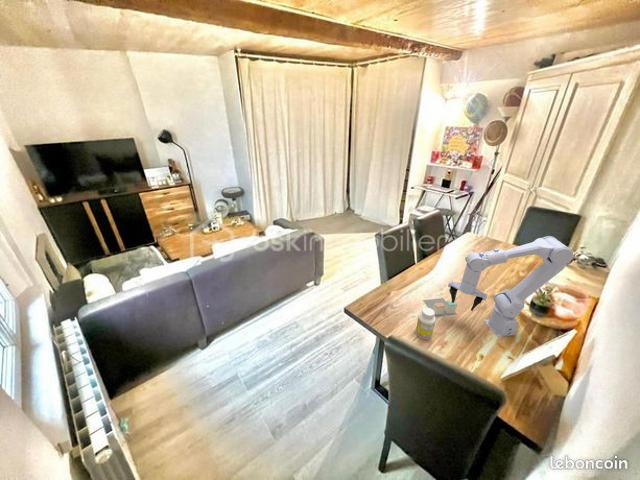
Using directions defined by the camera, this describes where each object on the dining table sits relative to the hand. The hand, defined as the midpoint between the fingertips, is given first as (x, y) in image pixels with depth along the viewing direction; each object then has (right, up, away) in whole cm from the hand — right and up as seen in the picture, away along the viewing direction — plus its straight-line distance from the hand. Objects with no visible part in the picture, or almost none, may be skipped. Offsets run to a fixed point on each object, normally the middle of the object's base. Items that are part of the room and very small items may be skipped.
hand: (462, 305), depth 108 cm
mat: (-4, -4, +12) cm, 14 cm away
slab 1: (-7, -6, +9) cm, 13 cm away
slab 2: (-1, -5, +9) cm, 11 cm away
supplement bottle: (-18, -12, -1) cm, 22 cm away
